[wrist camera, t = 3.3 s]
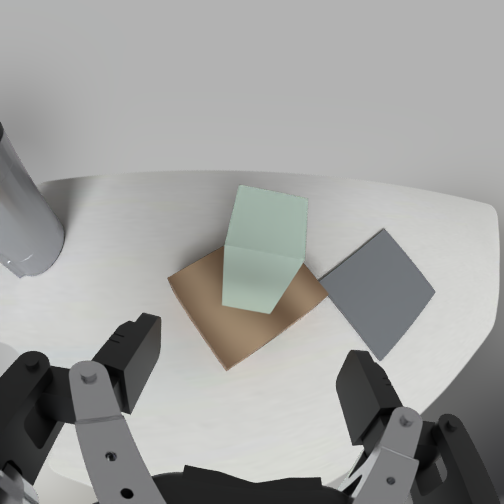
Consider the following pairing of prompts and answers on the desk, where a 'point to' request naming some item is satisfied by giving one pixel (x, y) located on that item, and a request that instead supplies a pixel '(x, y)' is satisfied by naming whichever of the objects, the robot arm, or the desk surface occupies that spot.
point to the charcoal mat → (379, 292)
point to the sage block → (263, 248)
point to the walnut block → (239, 320)
